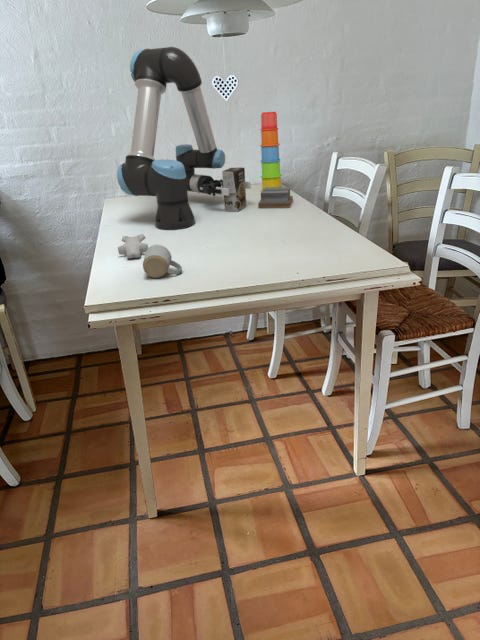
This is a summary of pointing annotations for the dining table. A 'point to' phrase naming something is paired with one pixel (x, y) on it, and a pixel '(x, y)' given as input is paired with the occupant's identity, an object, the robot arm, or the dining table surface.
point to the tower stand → (275, 197)
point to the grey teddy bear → (133, 246)
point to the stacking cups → (270, 151)
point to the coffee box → (234, 189)
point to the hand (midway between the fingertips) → (239, 188)
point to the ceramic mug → (159, 262)
